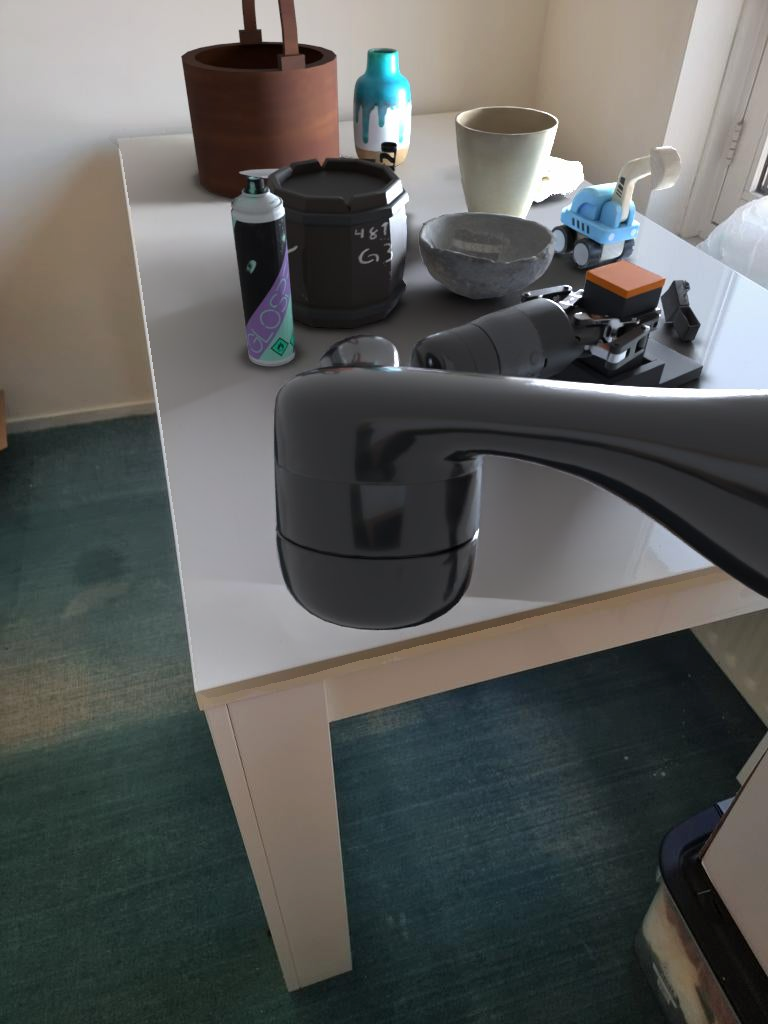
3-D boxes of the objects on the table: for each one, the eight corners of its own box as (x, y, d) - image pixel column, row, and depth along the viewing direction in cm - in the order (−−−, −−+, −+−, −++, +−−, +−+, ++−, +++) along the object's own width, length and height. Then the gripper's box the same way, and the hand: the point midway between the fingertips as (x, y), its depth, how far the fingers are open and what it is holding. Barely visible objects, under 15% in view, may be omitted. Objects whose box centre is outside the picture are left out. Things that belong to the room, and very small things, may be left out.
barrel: (303, 264, 107) (296, 147, 96) (421, 284, 102) (426, 163, 92) (242, 317, 94) (226, 189, 84) (373, 343, 89) (373, 211, 79)
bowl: (548, 267, 107) (557, 211, 101) (547, 324, 94) (557, 262, 88) (424, 257, 109) (427, 202, 104) (407, 311, 96) (409, 251, 91)
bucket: (217, 208, 123) (181, -56, 100) (185, 163, 141) (149, -69, 118) (360, 189, 131) (358, -60, 108) (313, 149, 149) (302, -72, 126)
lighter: (687, 351, 94) (707, 331, 89) (672, 352, 93) (691, 331, 88) (674, 296, 96) (693, 272, 91) (659, 296, 96) (678, 273, 91)
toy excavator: (617, 291, 101) (648, 157, 90) (543, 248, 112) (562, 124, 101) (664, 279, 104) (700, 148, 93) (587, 238, 115) (610, 117, 104)
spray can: (255, 370, 85) (233, 188, 71) (243, 348, 88) (221, 171, 75) (301, 361, 86) (288, 182, 73) (288, 340, 90) (273, 166, 77)
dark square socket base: (699, 377, 84) (710, 345, 82) (601, 420, 78) (609, 387, 75) (621, 334, 92) (628, 304, 89) (524, 370, 85) (529, 339, 83)
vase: (367, 179, 135) (367, 58, 123) (345, 162, 143) (342, 47, 130) (419, 172, 139) (423, 54, 126) (394, 156, 146) (397, 43, 133)
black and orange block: (641, 367, 80) (666, 278, 73) (605, 381, 77) (628, 291, 71) (603, 345, 83) (624, 259, 77) (568, 359, 81) (586, 270, 74)
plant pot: (469, 206, 125) (478, 101, 115) (554, 222, 120) (571, 114, 110) (432, 235, 115) (438, 123, 105) (522, 254, 110) (538, 138, 100)
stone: (497, 167, 141) (500, 139, 138) (558, 166, 142) (562, 138, 139) (522, 205, 126) (526, 175, 123) (590, 204, 127) (596, 174, 123)
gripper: (462, 351, 77) (578, 312, 84) (558, 417, 68) (679, 367, 76) (468, 283, 72) (592, 247, 79) (573, 344, 63) (701, 298, 71)
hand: (634, 306), depth 77 cm, fingers closed on black and orange block, 5 cm apart
